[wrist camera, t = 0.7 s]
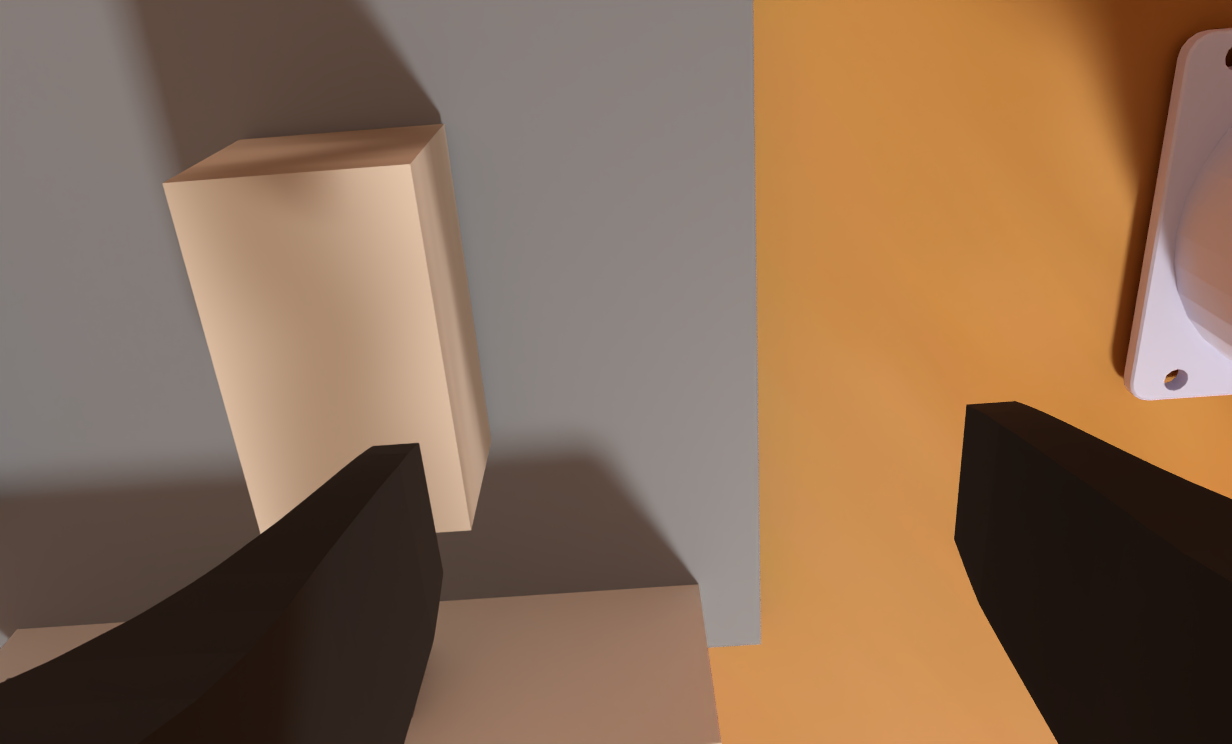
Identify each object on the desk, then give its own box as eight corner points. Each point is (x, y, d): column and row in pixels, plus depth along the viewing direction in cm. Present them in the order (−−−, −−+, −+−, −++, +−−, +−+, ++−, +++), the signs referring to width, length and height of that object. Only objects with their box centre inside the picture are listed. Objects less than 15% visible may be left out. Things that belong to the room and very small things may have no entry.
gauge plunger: (443, 123, 18) (395, 181, 14) (512, 581, 23) (491, 729, 19) (239, 139, 18) (129, 201, 14) (348, 592, 23) (289, 741, 19)
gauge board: (741, -295, 16) (808, -408, 11) (755, 618, 25) (796, 810, 19) (-460, -191, 17) (-965, -249, 11) (-46, 670, 25) (-225, 872, 20)
